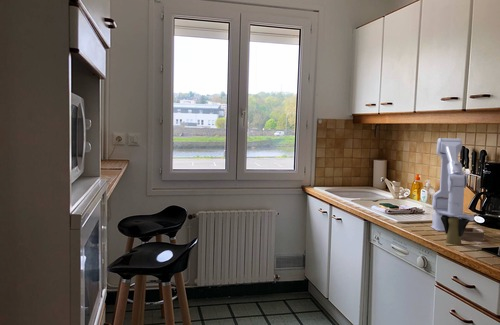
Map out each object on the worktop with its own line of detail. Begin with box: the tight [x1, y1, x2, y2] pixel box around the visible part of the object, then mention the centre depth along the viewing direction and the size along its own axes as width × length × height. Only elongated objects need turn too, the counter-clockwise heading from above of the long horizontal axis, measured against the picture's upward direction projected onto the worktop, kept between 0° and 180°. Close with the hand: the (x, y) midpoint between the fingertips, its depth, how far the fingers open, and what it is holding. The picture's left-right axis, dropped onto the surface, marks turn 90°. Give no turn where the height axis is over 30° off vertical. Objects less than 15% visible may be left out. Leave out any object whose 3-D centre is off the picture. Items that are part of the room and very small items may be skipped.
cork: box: [445, 216, 462, 246], centre depth 179 cm, size 6×6×11 cm
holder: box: [461, 227, 485, 242], centre depth 189 cm, size 10×10×4 cm
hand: (453, 234), depth 180 cm, fingers closed on cork, 5 cm apart
